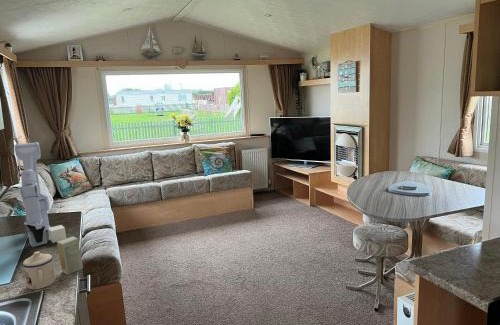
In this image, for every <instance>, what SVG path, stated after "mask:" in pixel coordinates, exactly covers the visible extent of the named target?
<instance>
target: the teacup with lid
mask: <svg viewBox="0 0 500 325" xmlns="http://www.w3.org/2000/svg"><path fill="white" fill-rule="evenodd" d="M53 259H54V257H53V255H52V254H50V253H43V252H42V253H41V252H40V251H39V250H38V251H35V252H33V254H32V255H31V256H30V257H28V258H26V259H25V260H23V263H22V266H23V269H24V274H25V275H24V277H25V281H26V287H27V288H28V289H30V290H40V288H41V289H44V287H45V288H47V287H50V286H51V285H53V284H54V283H55V281H56V275H55V268H54V262H53Z"/></svg>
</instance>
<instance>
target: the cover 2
mask: <svg viewBox="0 0 500 325" xmlns="http://www.w3.org/2000/svg"><path fill="white" fill-rule="evenodd" d="M50 227H51V228H48V230H47V232H48V239H49V241H50V242H51V243H52V244H55V243H57V242H58V241H61V240H64V239H66V238H67V234H66V229H65V228H66V227H64V226H63V225H62V224H60V225H55V226H50Z"/></svg>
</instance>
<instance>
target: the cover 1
mask: <svg viewBox="0 0 500 325" xmlns="http://www.w3.org/2000/svg"><path fill="white" fill-rule="evenodd" d="M27 236H28V241H29V242H28V243H29V244H30V246H31V247H32V248H35V247H39V246H42V245H45V244H48V240H47V234H46V231H44V232H43V240H42V242H40V243H37V242H36V240H35V237H34V235H33V233H32V231H30V230H29V231H27Z"/></svg>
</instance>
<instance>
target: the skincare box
mask: <svg viewBox="0 0 500 325" xmlns="http://www.w3.org/2000/svg"><path fill="white" fill-rule="evenodd" d="M56 246H57V249H58V256H59V262H60V267H61V272H62V273H63V274H65V275H71V274H73V273H75V272H77V271H78V272H79V270H82V269H83V268H84V266H83V259H82V254H81V248H80V242H79V238H78V237H75V236H70V237H66V239H64V240H61V241H58V242H56Z"/></svg>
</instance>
